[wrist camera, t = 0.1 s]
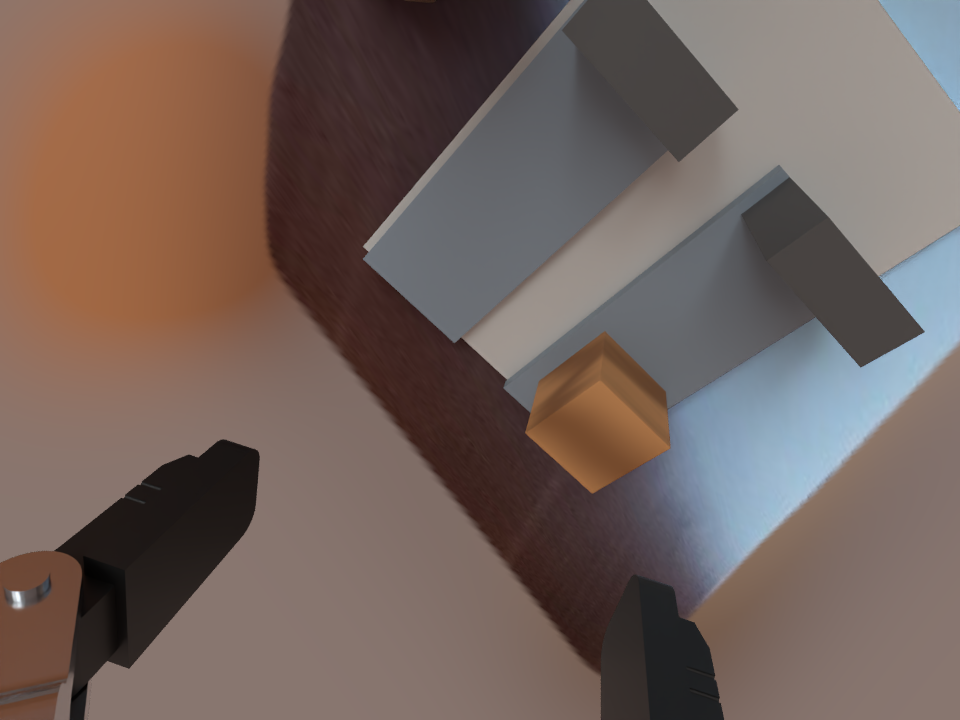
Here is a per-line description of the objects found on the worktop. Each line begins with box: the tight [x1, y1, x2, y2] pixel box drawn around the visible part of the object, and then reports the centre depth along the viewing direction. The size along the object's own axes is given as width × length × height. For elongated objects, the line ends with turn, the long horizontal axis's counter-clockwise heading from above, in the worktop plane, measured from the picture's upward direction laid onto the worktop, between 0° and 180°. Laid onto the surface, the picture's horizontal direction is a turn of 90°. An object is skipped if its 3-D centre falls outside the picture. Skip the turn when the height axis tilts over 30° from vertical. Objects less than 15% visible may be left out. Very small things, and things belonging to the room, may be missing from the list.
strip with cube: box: [504, 165, 924, 413], centre depth 28 cm, size 18×7×7 cm, turn 138°
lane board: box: [363, 0, 960, 380], centre depth 29 cm, size 24×19×1 cm
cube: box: [525, 331, 670, 493], centre depth 31 cm, size 5×5×5 cm
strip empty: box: [363, 0, 739, 343], centre depth 26 cm, size 18×7×7 cm, turn 138°
